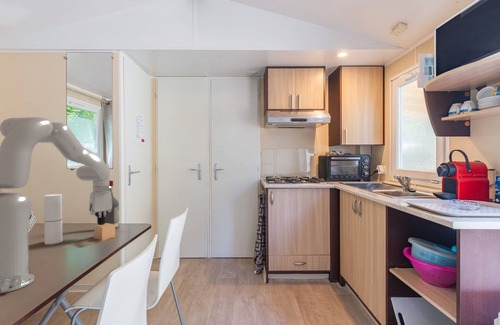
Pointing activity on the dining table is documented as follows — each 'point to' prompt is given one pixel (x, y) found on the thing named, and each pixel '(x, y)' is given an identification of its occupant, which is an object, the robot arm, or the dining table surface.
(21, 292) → the dining table surface
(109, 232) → the orange block
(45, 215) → the cylindrical container
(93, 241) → the board
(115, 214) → the liquor
